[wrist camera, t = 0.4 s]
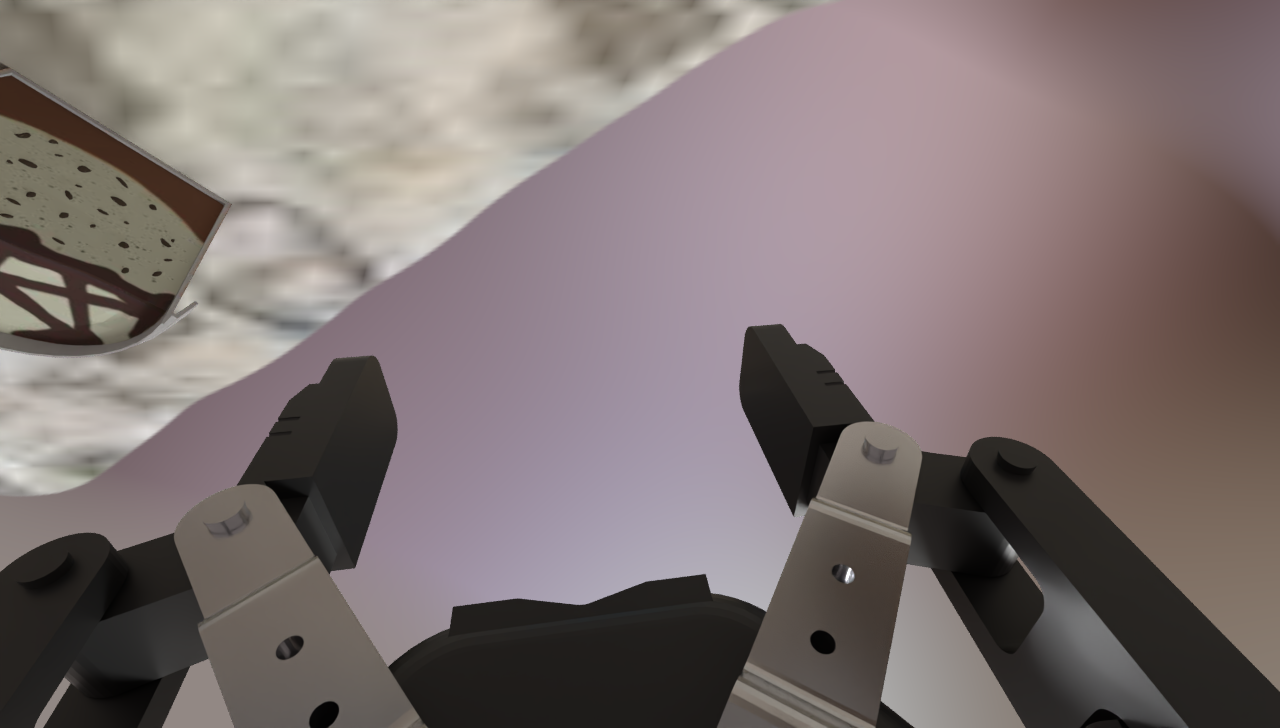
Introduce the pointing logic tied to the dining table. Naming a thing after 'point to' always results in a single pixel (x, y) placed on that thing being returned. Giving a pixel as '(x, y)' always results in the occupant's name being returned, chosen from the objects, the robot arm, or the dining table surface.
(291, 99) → the dining table surface
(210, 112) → the dining table surface
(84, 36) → the dining table surface
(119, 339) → the food container
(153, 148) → the dining table surface
